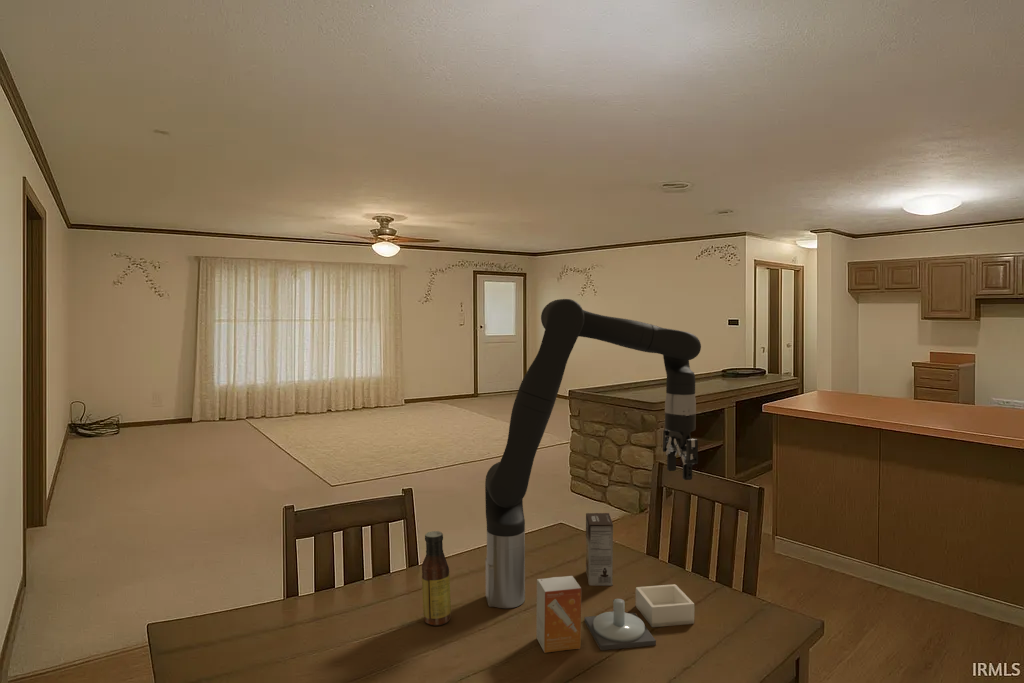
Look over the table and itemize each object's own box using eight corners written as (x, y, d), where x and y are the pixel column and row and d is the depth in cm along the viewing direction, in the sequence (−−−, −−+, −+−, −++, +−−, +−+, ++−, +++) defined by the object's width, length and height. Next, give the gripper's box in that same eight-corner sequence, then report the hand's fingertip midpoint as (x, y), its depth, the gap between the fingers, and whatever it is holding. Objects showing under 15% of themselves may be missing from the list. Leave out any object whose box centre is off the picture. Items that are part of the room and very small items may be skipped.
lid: (602, 644, 125) (602, 615, 125) (587, 617, 136) (587, 591, 135) (652, 639, 127) (652, 611, 126) (633, 613, 138) (634, 588, 137)
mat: (600, 650, 124) (600, 645, 124) (584, 621, 136) (584, 616, 136) (655, 645, 126) (655, 640, 126) (635, 616, 138) (635, 612, 138)
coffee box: (585, 570, 163) (585, 512, 162) (608, 570, 163) (609, 512, 162) (588, 586, 154) (588, 524, 153) (613, 586, 154) (614, 524, 153)
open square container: (651, 627, 134) (652, 607, 133) (635, 605, 143) (635, 587, 143) (694, 623, 135) (694, 603, 135) (675, 602, 145) (675, 584, 145)
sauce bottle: (456, 616, 138) (455, 531, 137) (441, 629, 133) (441, 540, 132) (431, 610, 141) (431, 527, 140) (416, 623, 135) (415, 536, 134)
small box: (544, 654, 123) (544, 591, 122) (535, 638, 129) (536, 578, 129) (581, 649, 125) (582, 587, 124) (571, 633, 131) (572, 574, 130)
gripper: (654, 407, 158) (653, 468, 158) (679, 416, 144) (678, 483, 144) (680, 406, 159) (679, 467, 160) (708, 415, 145) (707, 481, 146)
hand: (679, 474), depth 152 cm, fingers open, 8 cm apart
